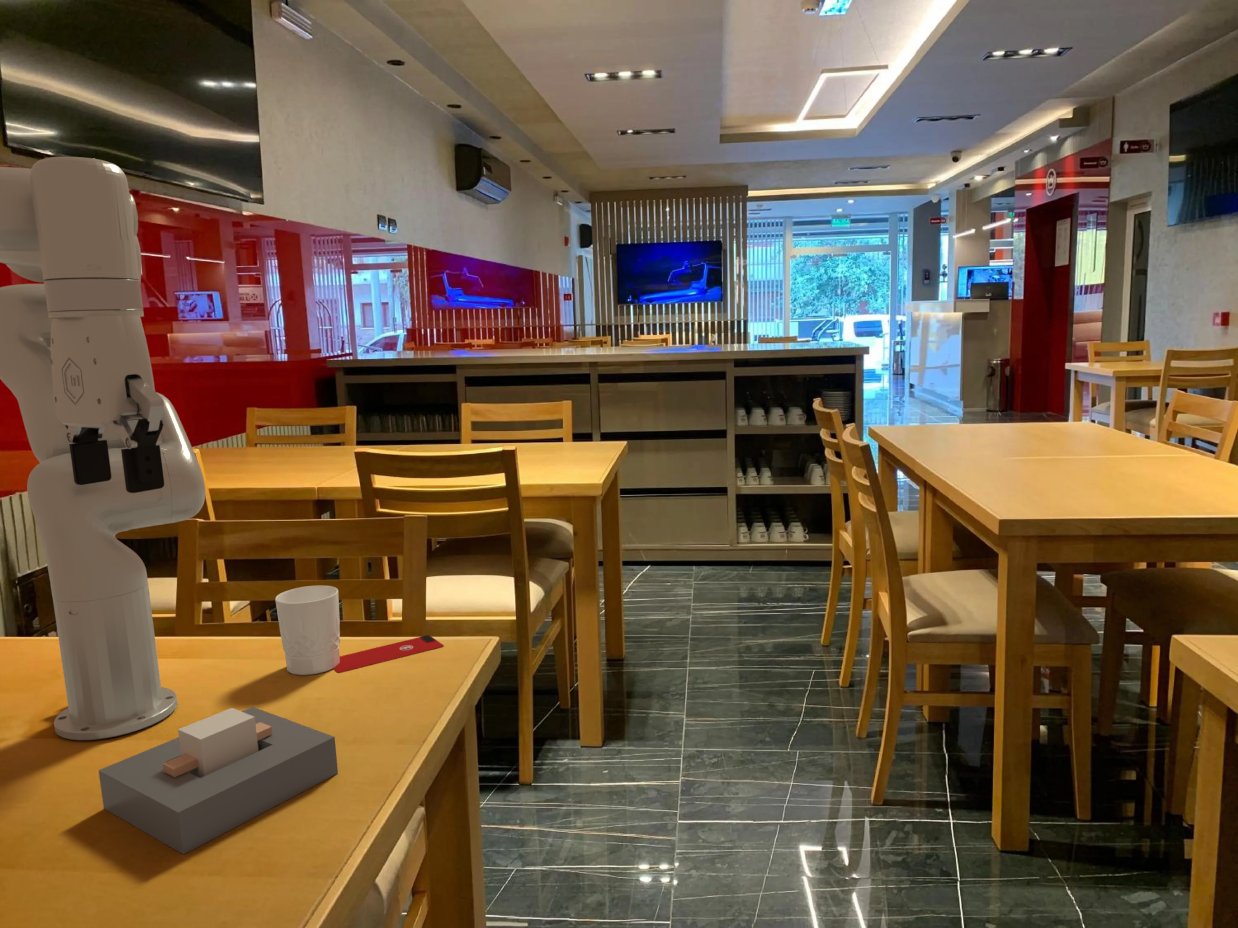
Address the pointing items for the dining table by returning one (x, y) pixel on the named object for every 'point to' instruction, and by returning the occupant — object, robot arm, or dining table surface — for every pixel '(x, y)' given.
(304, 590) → the white cup
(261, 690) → the dining table surface
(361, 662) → the electronic device
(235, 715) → the block
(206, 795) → the block
